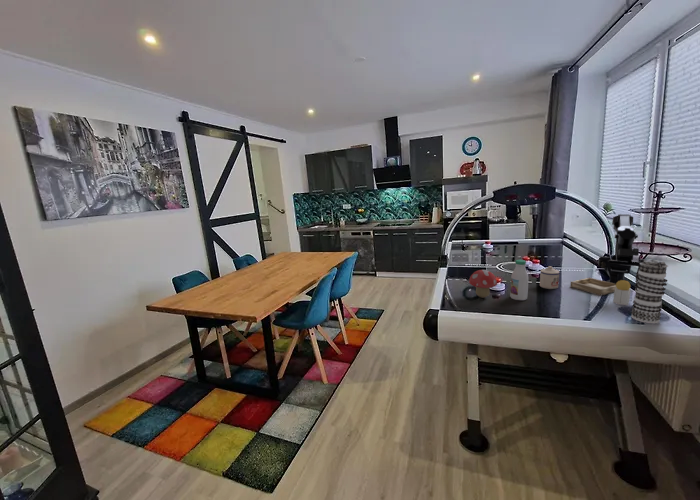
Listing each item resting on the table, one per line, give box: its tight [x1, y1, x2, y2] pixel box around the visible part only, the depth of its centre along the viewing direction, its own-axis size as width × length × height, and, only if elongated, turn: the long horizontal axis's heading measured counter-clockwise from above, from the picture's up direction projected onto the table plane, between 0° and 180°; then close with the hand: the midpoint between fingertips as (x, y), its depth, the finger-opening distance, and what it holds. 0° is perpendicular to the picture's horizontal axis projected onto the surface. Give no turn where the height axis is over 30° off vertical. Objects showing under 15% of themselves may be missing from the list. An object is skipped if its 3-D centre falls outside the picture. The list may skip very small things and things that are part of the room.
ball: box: [616, 279, 631, 290], centre depth 137 cm, size 5×5×5 cm
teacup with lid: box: [539, 265, 560, 290], centre depth 165 cm, size 12×9×12 cm
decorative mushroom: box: [468, 269, 498, 299], centre depth 155 cm, size 13×13×15 cm
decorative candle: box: [630, 258, 669, 324], centre depth 120 cm, size 9×9×25 cm
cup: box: [612, 287, 631, 306], centre depth 138 cm, size 5×5×7 cm
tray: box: [569, 277, 616, 296], centre depth 158 cm, size 15×15×3 cm
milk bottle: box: [509, 259, 529, 301], centre depth 151 cm, size 8×8×20 cm
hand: (623, 278), depth 140 cm, fingers open, 9 cm apart
